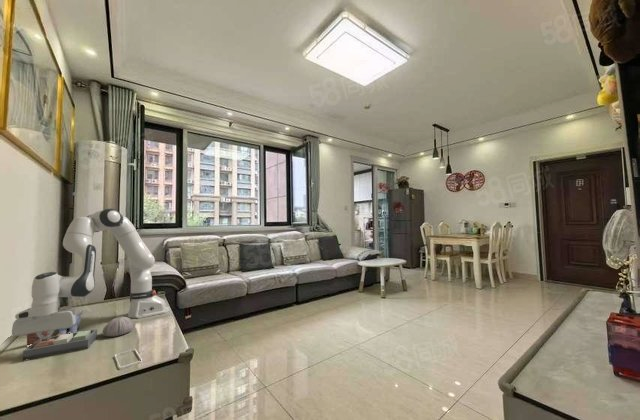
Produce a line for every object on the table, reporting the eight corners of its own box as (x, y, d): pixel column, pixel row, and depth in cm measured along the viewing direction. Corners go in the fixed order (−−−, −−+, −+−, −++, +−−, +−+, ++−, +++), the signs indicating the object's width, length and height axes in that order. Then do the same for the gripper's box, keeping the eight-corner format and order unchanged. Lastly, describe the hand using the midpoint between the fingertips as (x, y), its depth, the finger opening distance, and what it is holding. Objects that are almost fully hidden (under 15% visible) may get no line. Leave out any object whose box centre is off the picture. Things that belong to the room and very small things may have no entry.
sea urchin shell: (117, 339, 129) (117, 322, 129) (94, 338, 131) (95, 321, 132) (140, 328, 142) (140, 313, 142) (120, 327, 144) (120, 312, 145)
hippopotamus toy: (46, 332, 140) (47, 314, 141) (84, 325, 149) (84, 308, 150) (41, 339, 132) (42, 320, 132) (81, 331, 141) (82, 313, 141)
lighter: (50, 339, 131) (50, 319, 131) (51, 341, 129) (51, 320, 129) (26, 345, 125) (26, 324, 125) (26, 347, 122) (27, 325, 123)
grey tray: (97, 337, 132) (97, 328, 132) (87, 348, 119) (88, 338, 120) (39, 347, 122) (39, 337, 123) (23, 360, 110) (23, 350, 110)
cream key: (73, 337, 125) (73, 333, 125) (67, 343, 119) (67, 338, 119) (60, 339, 123) (60, 335, 123) (53, 345, 117) (53, 340, 117)
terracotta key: (54, 342, 122) (54, 338, 122) (47, 349, 116) (47, 344, 116) (41, 345, 120) (41, 340, 120) (33, 351, 114) (33, 346, 114)
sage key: (90, 334, 128) (90, 330, 128) (85, 339, 122) (85, 335, 122) (78, 336, 126) (78, 332, 126) (72, 342, 120) (72, 337, 120)
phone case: (142, 363, 105) (135, 351, 116) (142, 360, 105) (135, 348, 116) (119, 371, 100) (114, 357, 111) (119, 367, 100) (114, 354, 111)
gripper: (78, 303, 127) (78, 333, 126) (18, 311, 117) (17, 343, 117) (73, 307, 121) (73, 338, 120) (9, 316, 112) (9, 349, 111)
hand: (45, 340), depth 118 cm, fingers closed
